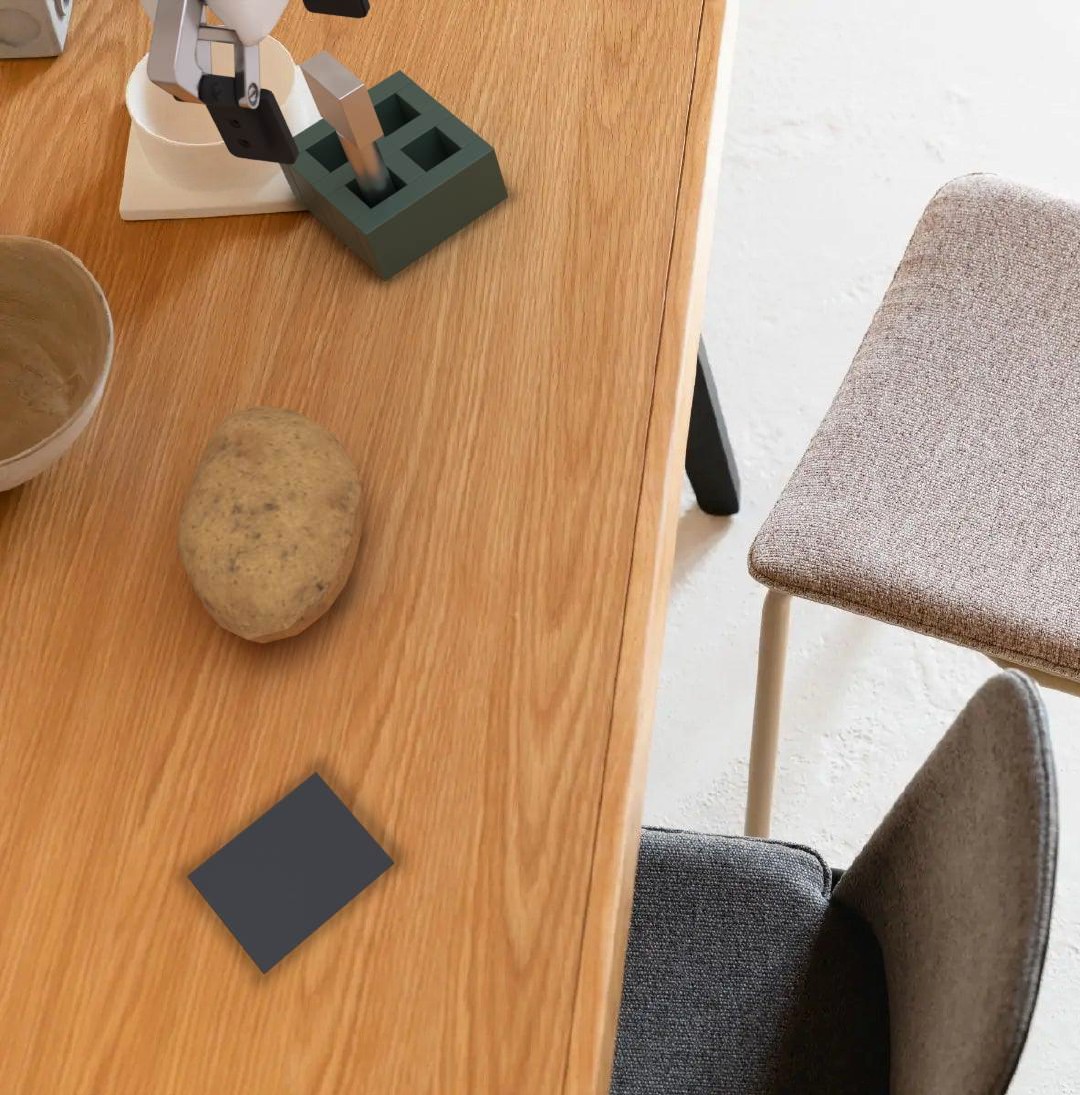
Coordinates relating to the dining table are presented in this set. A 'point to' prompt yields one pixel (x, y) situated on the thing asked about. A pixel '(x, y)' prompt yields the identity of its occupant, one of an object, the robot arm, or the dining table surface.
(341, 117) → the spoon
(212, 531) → the potato
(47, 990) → the dining table surface
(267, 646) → the dining table surface
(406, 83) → the rack
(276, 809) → the mat
